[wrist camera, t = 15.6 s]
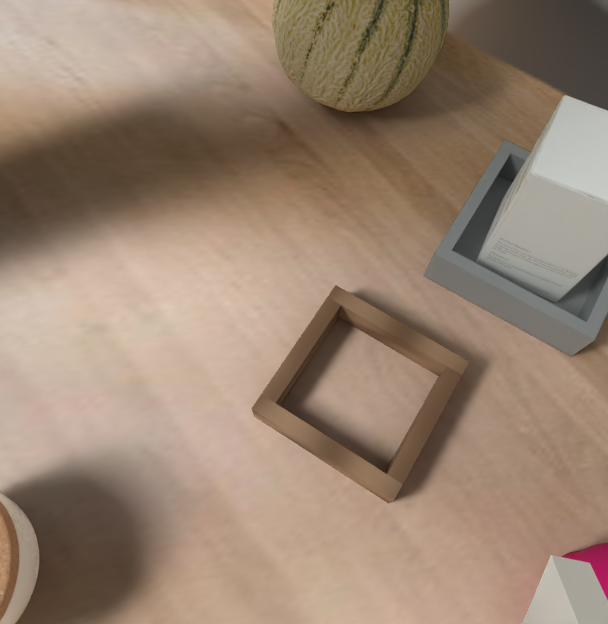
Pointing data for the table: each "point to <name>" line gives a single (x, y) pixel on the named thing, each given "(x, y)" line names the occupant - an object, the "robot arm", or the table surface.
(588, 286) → the slate tray
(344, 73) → the cantaloupe
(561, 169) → the supplement box
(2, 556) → the lidded jar
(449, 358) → the walnut collar
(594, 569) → the pepper mill
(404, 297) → the table surface
